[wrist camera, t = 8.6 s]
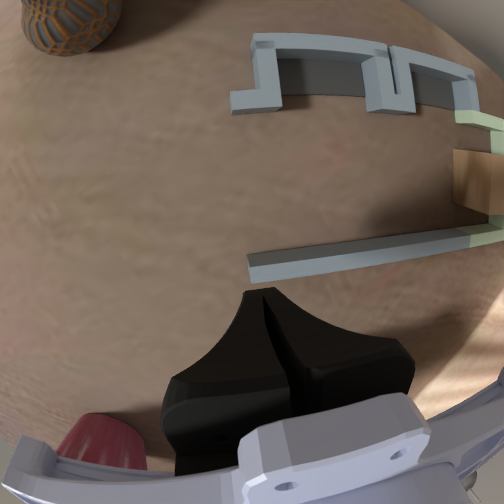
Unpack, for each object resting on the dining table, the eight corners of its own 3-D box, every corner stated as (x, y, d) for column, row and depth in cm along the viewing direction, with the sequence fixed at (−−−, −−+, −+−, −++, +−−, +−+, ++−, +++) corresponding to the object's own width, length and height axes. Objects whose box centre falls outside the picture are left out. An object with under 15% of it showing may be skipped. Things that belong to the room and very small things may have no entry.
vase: (122, -19, 12) (85, -75, 4) (142, 35, 15) (99, -22, 6) (51, 23, 13) (-7, -9, 4) (64, 81, 15) (-8, 58, 7)
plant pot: (103, 385, 24) (68, 484, 12) (186, 448, 29) (184, 534, 17) (46, 410, 26) (16, 480, 14) (118, 463, 31) (106, 530, 19)
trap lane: (492, 232, 23) (506, 239, 21) (248, 269, 21) (251, 283, 19) (490, 86, 17) (505, 85, 15) (224, 48, 16) (224, 35, 14)
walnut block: (480, 201, 22) (515, 213, 17) (451, 202, 21) (488, 215, 17) (482, 153, 20) (518, 159, 15) (452, 148, 20) (491, 153, 15)
